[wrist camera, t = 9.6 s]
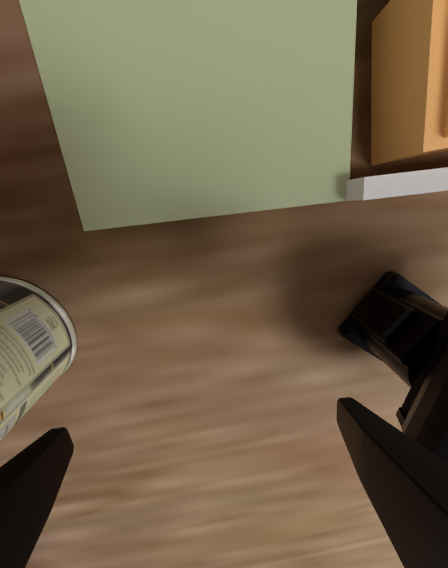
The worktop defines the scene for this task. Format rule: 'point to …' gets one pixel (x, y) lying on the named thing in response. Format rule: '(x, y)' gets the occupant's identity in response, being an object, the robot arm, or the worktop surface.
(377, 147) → the orange stepped block
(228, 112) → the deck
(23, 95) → the worktop surface
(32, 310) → the coffee can
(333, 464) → the worktop surface
